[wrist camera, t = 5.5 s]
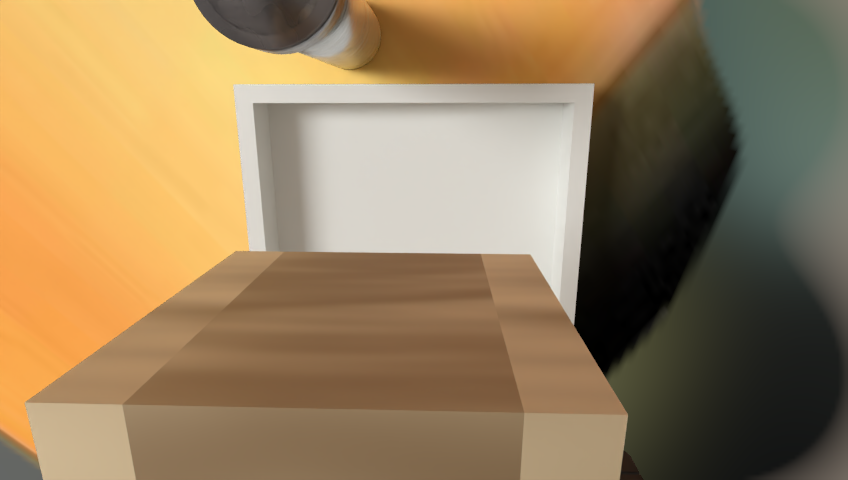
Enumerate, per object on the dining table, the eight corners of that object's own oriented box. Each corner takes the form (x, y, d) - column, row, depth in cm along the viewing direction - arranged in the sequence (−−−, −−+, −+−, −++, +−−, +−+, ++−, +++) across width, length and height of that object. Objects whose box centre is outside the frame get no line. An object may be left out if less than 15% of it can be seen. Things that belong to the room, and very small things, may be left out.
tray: (253, 86, 31) (233, 84, 28) (579, 86, 30) (594, 83, 27) (278, 375, 36) (263, 399, 33) (556, 379, 35) (567, 404, 32)
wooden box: (236, 251, 15) (25, 403, 7) (530, 254, 15) (627, 415, 7) (261, 493, 18) (120, 798, 10) (515, 499, 17) (575, 818, 10)
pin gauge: (305, -10, 29) (173, -124, 15) (387, -10, 29) (334, -127, 14) (310, 76, 30) (192, 49, 16) (388, 76, 30) (341, 48, 16)
